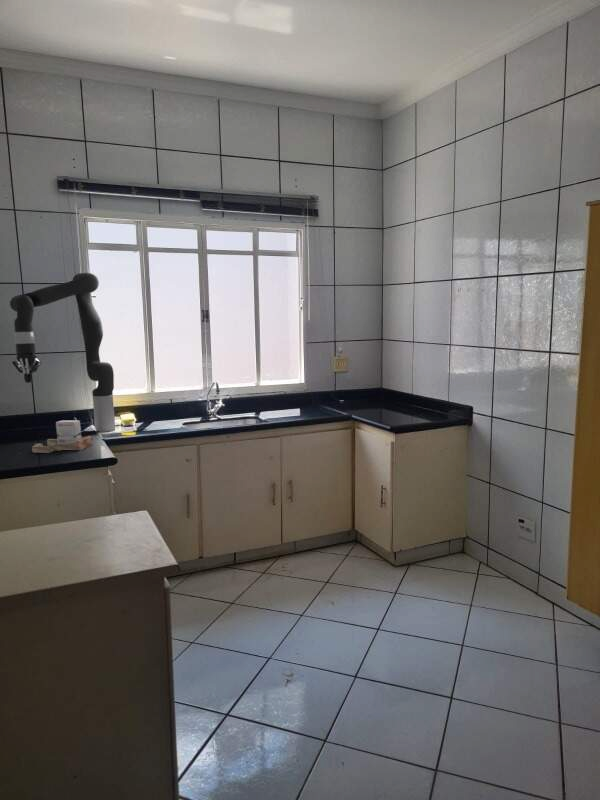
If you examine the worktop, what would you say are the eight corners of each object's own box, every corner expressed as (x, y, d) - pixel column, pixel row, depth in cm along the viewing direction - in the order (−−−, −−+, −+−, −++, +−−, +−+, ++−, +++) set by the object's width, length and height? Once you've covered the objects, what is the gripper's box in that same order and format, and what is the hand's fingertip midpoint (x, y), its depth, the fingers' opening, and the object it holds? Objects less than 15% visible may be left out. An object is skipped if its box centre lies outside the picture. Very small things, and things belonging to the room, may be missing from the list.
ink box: (82, 447, 242) (80, 419, 240) (76, 449, 237) (74, 422, 235) (64, 447, 243) (62, 419, 241) (57, 449, 238) (55, 421, 236)
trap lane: (54, 442, 252) (53, 433, 251) (97, 443, 249) (96, 434, 248) (28, 452, 234) (27, 442, 233) (74, 453, 231) (73, 443, 230)
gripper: (44, 341, 249) (47, 381, 251) (16, 342, 251) (20, 381, 253) (33, 342, 241) (37, 383, 244) (5, 343, 243) (9, 383, 246)
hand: (28, 382), depth 248 cm, fingers closed
